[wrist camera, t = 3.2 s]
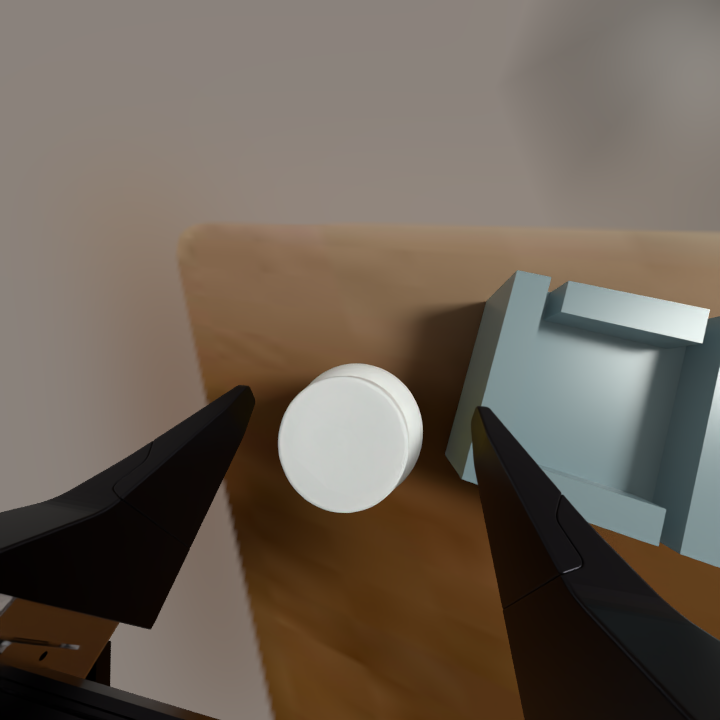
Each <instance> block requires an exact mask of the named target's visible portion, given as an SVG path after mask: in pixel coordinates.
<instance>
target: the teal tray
mask: <svg viewBox="0 0 720 720" xmlns="http://www.w3.org/2000/svg"><path fill="white" fill-rule="evenodd" d="M550 280H551V277H548V276H543V275H538V274H533V273H528V272H523V271H518V270H517V271H516V272H515V273H514V274H513V275H512V276H511V277H510V278H509V279H508V280H507V281H506V282H505V283H504V284H503V285H502V286H501V287H500V288H499V289H498V290H497V291H496V292H495V293H494V294H493V295H492V296H491V297H490V298H489V299H488V300H487V301H486V304H485V308H484V312H483V315H482V319H481V323H480V327H479V330H478V334H477V338H476V341H475V345H474V349H473V352H472V356H471V360H470V363H469V367H468V371H467V375H466V378H465V382H464V386H463V389H462V393H461V397H460V400H459V404H458V408H457V411H456V415H455V419H454V423H453V426H452V430H451V434H450V437H449V441H448V445H447V448H446V452H445V456H446V457H447V458H448V460H449V461H450V463H451V464H452V466H453V467H454V469H455V470H456V472H457V473H458V474H459V476H460V477H461V479H463V480H466V481H469V482H471V483H474V484H477V485H478V483H477V478H476V474H475V468H474V460H473V448H472V435H471V419H472V416H473V413H474V411H475V408H476V407H477V406H485V407H489V408H490V409H491V410H492V411H493V412H494V414H495V415H496V416H497V417H498V418H499V420H500V421H501V422H502V423H503V424H504V425H505V427H506V428H507V429H508V430H509V431H510V432H511V434H512V435H513V436H514V437H515V438H516V439H517V441H518V442H519V443H520V444H521V445H522V447H523V448H524V449H525V450H526V451H527V452H528V454H529V455H530V456H531V457H532V458H533V459H534V461H535V462H536V463H537V464H538V465H539V466H540V468H541V469H542V470H543V471H544V472H545V474H546V475H547V476H548V477H549V478H550V479H551V481H552V482H553V483H554V484H555V485H556V486H557V488H558V489H559V490H560V491H561V493H562V494H563V495H564V496H565V497H566V498H567V499H568V500H569V502H570V503H571V504H572V505H573V506H574V507H575V509H576V510H577V511H578V512H579V513H580V514H581V515H582V516H583V518H584V519H585V520H586V521H587V522H588V523H591V524H594V525H597V526H600V527H603V528H606V529H609V530H612V531H615V532H617V533H620V534H623V535H626V536H629V537H632V538H635V539H638V540H641V541H644V542H647V543H650V544H652V545H655V546H659V542H661V543H662V544H664V545H666V546H667V547H669V548H671V549H673V550H674V551H676V552H678V553H679V554H682V555H685V556H688V557H690V558H693V559H696V560H699V561H702V562H705V563H708V564H711V565H714V566H717V567H720V316H719V317H715V318H710V319H708V316H709V311H710V310H709V309H705V308H700V307H695V306H690V305H685V304H680V303H675V302H670V301H665V300H660V299H656V298H651V297H646V296H641V295H636V294H631V293H626V292H621V291H616V290H611V289H607V288H602V287H597V286H592V285H587V284H582V283H577V282H572V281H568V282H566V283H565V284H563V285H561V286H560V287H558V288H557V289H555V290H554V291H552V292H548V288H549V284H550ZM562 494H561V495H562Z"/></svg>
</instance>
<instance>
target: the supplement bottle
mask: <svg viewBox="0 0 720 720" xmlns="http://www.w3.org/2000/svg"><path fill="white" fill-rule="evenodd" d="M422 439H423V425H422V419H421V414H420V411H419V408H418V405H417V403H416V401H415V399H414V397H413V395H412V394H411V392H410V391H409V390H408V388H407V387H406V386H405V385H404V384H403V383H402V382H401V381H400V380H399V379H398V378H396V377H395V376H394V375H392V374H391V373H389V372H387V371H386V370H383V369H381V368H379V367H375V366H372V365H367V364H358V363H357V364H345V365H341V366H337V367H334V368H332V369H330V370H328V371H326V372H324V373H322V374H321V375H319V376H318V377H317V378H316V379H314V380H313V381H312V382H311V383H310V384H309V385H308V386H307V387H306V388H305V389H304V390H302V391H301V392H300V393H299V394H298V395H297V396H296V397H295V398H294V399H293V401H292V402H291V403H290V405H289V406H288V408H287V410H286V412H285V414H284V416H283V419H282V422H281V425H280V429H279V434H278V452H279V458H280V462H281V465H282V468H283V470H284V473H285V475H286V477H287V479H288V480H289V482H290V484H291V485H292V486H293V488H294V489H295V490H296V491H297V492H298V493H299V494H300V495H301V496H302V497H303V498H304V499H305V500H307V501H308V502H310V503H311V504H313V505H315V506H317V507H319V508H321V509H324V510H327V511H331V512H338V513H352V512H357V511H361V510H365V509H367V508H370V507H372V506H374V505H376V504H377V503H379V502H380V501H382V500H383V499H384V498H385V497H386V496H388V495H389V494H390V493H391V492H392V490H393V489H395V488H396V487H397V486H398V485H400V484H401V483H402V482H403V481H404V480H405V479H406V477H407V476H408V475H409V474H410V472H411V471H412V469H413V467H414V466H415V464H416V462H417V459H418V457H419V454H420V450H421V446H422Z"/></svg>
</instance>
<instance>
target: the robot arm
mask: <svg viewBox="0 0 720 720" xmlns="http://www.w3.org/2000/svg"><path fill="white" fill-rule="evenodd" d="M254 405H255V398H254V396H253V393H252V391H251V389H250V387H249V386H245V385H238V386H236V387H235V388H233V389H232V390H230V391H229V392H227V393H226V394H224V395H222V396H221V397H219V398H218V399H216V400H215V401H213V402H212V403H210V404H209V405H207V406H206V407H204V408H203V409H201V410H199V411H198V412H196V413H195V414H193V415H192V416H191V417H189V418H187V419H186V420H184V421H183V422H181V423H180V424H178V425H176V426H175V427H174V428H172V429H170V430H169V431H167V432H166V433H164V434H163V435H161V436H159V437H158V438H157V439H155V440H154V441H152V442H150V443H149V444H147V445H146V446H144V447H142V448H141V449H139V450H138V451H136V452H135V453H133V454H132V455H130V456H128V457H127V458H125V459H123V460H122V461H120V462H118V463H116V464H115V465H113V466H111V467H110V468H108V469H106V470H105V471H103V472H101V473H99V474H97V475H96V476H94V477H92V478H91V479H89V480H87V481H85V482H84V483H82V484H80V485H78V486H77V487H75V488H73V489H71V490H70V491H68V492H66V493H64V494H62V495H60V496H58V497H55V498H53V499H50V500H47V501H44V502H41V503H37V504H34V505H30V506H25V507H21V508H17V509H13V510H9V511H5V512H1V513H0V720H219V719H215V718H212V717H209V716H205V715H202V714H199V713H195V712H192V711H189V710H186V709H182V708H179V707H176V706H172V705H169V704H166V703H162V702H159V701H156V700H153V699H149V698H146V697H143V696H139V695H136V694H133V693H129V692H126V691H122V690H119V689H116V688H113V687H110V658H111V657H110V656H111V654H110V653H111V641H108V640H109V639H110V637H111V636H112V634H113V632H114V631H115V629H116V627H117V626H118V624H119V623H120V622H121V623H125V624H129V625H133V626H137V627H141V628H146V629H151V628H152V626H153V624H154V623H155V621H156V619H157V617H158V614H159V612H160V610H161V608H162V606H163V604H164V602H165V600H166V598H167V596H168V593H169V591H170V589H171V587H172V585H173V583H174V581H175V579H176V577H177V575H178V573H179V571H180V568H181V566H182V564H183V562H184V560H185V558H186V556H187V554H188V552H189V550H190V547H191V545H192V543H193V541H194V539H195V537H196V535H197V533H198V530H199V528H200V526H201V524H202V522H203V520H204V518H205V516H206V514H207V512H208V510H209V507H210V505H211V503H212V501H213V499H214V497H215V495H216V493H217V490H218V489H219V486H220V484H221V482H222V480H223V478H224V476H225V474H226V472H227V470H228V468H229V466H230V463H231V461H232V459H233V457H234V455H235V453H236V451H237V449H238V447H239V445H240V443H241V440H242V438H243V436H244V433H245V430H246V428H247V425H248V422H249V419H250V416H251V413H252V411H253V408H254ZM471 435H472V448H473V460H474V468H475V474H476V478H477V483H478V488H479V493H480V498H481V503H482V508H483V513H484V518H485V523H486V528H487V533H488V538H489V543H490V548H491V553H492V558H493V563H494V568H495V573H496V578H497V583H498V588H499V593H500V598H501V603H502V608H503V609H504V610H503V614H504V619H505V624H506V629H507V634H508V639H509V644H510V649H511V654H512V659H513V664H514V669H515V674H516V679H517V684H518V689H519V694H520V699H521V704H522V709H523V713H524V718H525V720H720V641H719V640H718V639H716V638H715V637H713V636H712V635H710V634H709V633H707V632H705V631H704V630H702V629H701V628H699V627H698V626H696V625H695V624H693V623H692V622H691V621H689V620H688V619H687V618H685V617H684V616H682V615H681V614H680V613H679V612H678V611H676V610H675V609H674V608H673V607H671V606H670V605H669V604H668V603H667V602H666V601H665V600H664V599H662V598H661V597H660V596H659V595H658V594H657V593H656V592H655V591H654V590H653V589H652V588H651V587H650V586H649V585H648V584H647V583H646V582H645V581H644V580H643V579H642V578H641V577H640V576H639V575H638V574H637V573H636V572H635V571H634V570H633V569H632V567H631V566H630V565H629V564H628V563H627V562H626V561H625V560H624V559H623V558H622V557H621V556H620V555H619V554H618V553H617V552H616V551H615V550H614V549H613V548H612V547H611V546H610V545H609V544H608V543H607V542H606V541H605V540H604V539H603V538H602V537H601V536H600V535H599V534H598V533H597V532H596V531H595V530H594V528H593V527H592V526H591V525H590V524H589V523H588V522H587V521H586V520H585V519H584V518H583V516H582V515H581V514H580V513H579V512H578V511H577V510H576V509H575V507H574V506H573V505H572V504H571V503H570V502H569V500H568V499H567V498H566V497H565V496H564V495H563V494H562V493H561V491H560V490H559V489H558V488H557V486H556V485H555V484H554V483H553V482H552V481H551V479H550V478H549V477H548V476H547V475H546V474H545V472H544V471H543V470H542V469H541V468H540V466H539V465H538V464H537V463H536V462H535V461H534V459H533V458H532V457H531V456H530V455H529V454H528V452H527V451H526V450H525V449H524V448H523V447H522V445H521V444H520V443H519V442H518V441H517V439H516V438H515V437H514V436H513V435H512V434H511V432H510V431H509V430H508V429H507V428H506V427H505V425H504V424H503V423H502V422H501V421H500V420H499V418H498V417H497V416H496V415H495V414H494V412H493V411H492V410H491V409H490V408H489V407H485V406H477V407H476V408H475V411H474V413H473V416H472V419H471ZM561 494H562V495H561Z"/></svg>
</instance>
